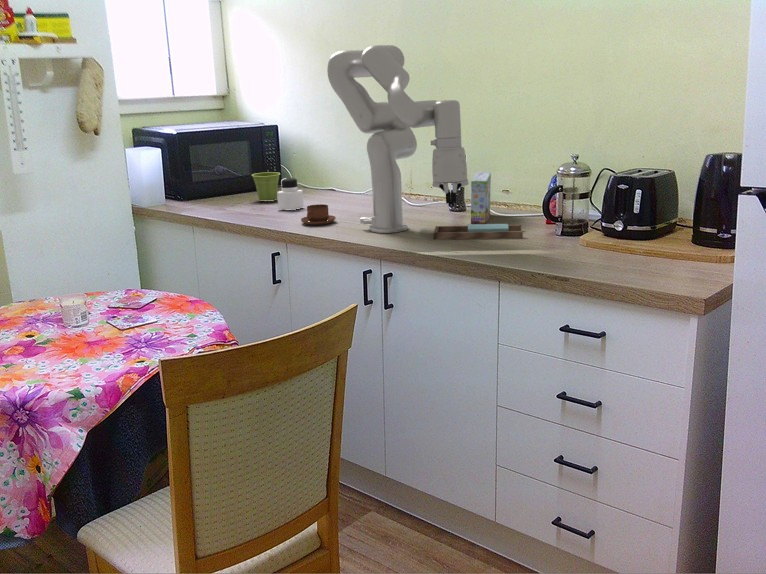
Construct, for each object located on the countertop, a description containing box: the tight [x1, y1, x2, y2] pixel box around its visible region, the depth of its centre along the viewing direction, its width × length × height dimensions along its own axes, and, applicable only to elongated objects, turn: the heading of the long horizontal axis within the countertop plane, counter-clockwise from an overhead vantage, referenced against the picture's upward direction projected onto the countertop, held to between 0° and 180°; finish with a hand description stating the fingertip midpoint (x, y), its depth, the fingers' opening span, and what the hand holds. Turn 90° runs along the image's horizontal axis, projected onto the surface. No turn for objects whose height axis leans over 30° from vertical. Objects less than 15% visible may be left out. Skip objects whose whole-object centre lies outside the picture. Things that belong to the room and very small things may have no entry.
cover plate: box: [467, 223, 509, 232], centre depth 224 cm, size 12×7×2 cm, turn 83°
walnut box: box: [433, 224, 524, 240], centre depth 225 cm, size 26×10×3 cm, turn 83°
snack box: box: [470, 172, 492, 224], centre depth 249 cm, size 21×6×15 cm, turn 168°
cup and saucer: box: [300, 203, 337, 226], centre depth 258 cm, size 12×12×6 cm
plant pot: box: [251, 171, 281, 201], centre depth 309 cm, size 12×12×11 cm
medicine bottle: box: [277, 177, 305, 210], centre depth 287 cm, size 7×7×12 cm
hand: (451, 205), depth 223 cm, fingers closed
